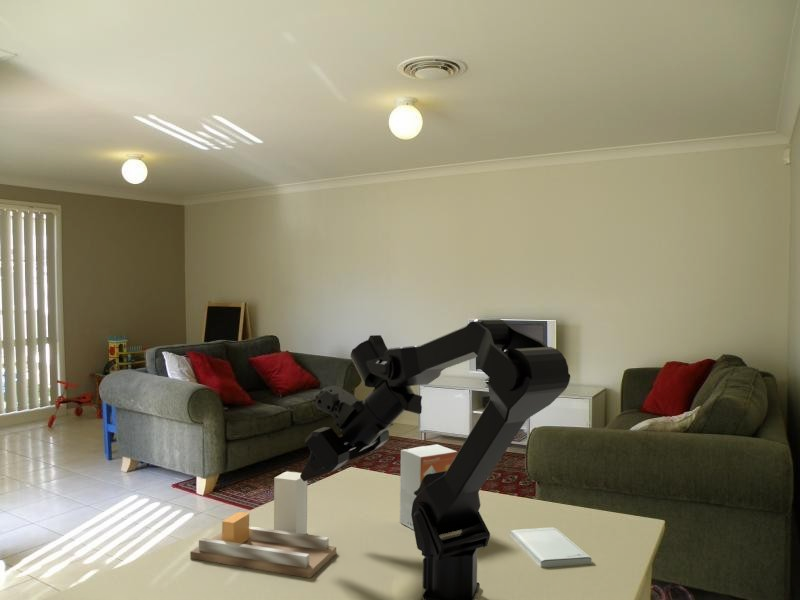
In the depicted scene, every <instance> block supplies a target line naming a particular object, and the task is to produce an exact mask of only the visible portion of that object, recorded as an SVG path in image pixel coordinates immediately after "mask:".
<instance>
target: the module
mask: <svg viewBox="0 0 800 600" xmlns="http://www.w3.org/2000/svg"><path fill="white" fill-rule="evenodd" d="M301 473H302V472H296V471H285V472H282V473H281V474H279V475H277V476H275V477H274V478H273V480H274V485H273V490H274V492H273V494H274V495H273V499H274V500H273V501H274V502H273V530H280V531H287V532H294V533H301V534H308V480H307V481H303V480H302V479H301V477H300V475H301Z"/></svg>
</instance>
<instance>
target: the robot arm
mask: <svg viewBox="0 0 800 600" xmlns="http://www.w3.org/2000/svg"><path fill="white" fill-rule="evenodd" d="M476 358H477V360H478V364H479V367H480V370H481V371H482V372H483V373H484V374H485V375H486V376H487V377H488V381H487V386H488V387H487V388H488V393H489V401H488V403H487V404H486V406H485V408H484V410H482V412H481V414H480V416H479V417H478V419H477V421H476V422H475V424H474V426H473V427H472V429H471V431H470V432H469V434H468V436H467V437H466V439H465V440H464V442H463V444H462V445H461V447H460V449H459V451H457V455H456V457H455V458H454V460H453V462H452V463H451V465H450V467H449V468H448V470H447V471H442V472H437V473H432V474H427V475H426V476H425V477H424V478H423V480H422V482H421V485H420V487H419V488H418V490H417V491H415V492H414V495H416V497H415V499H414V502H413V505H412V513H411V516H412V521H413V527H414V530H413V531H414V532H413V533H414V538H415V542H416V543H415V544H416V548H417V550H419V551H420V552H421V556H422V557H423V559H422V589H423V590H425V591H424V592H423V594H422V600H475V599H476V597H477V595H478V592H479V590H480V585H481V583H480V582H478V549H479V548H486V547H488V543H489V541H490V538H491V533H490V530H489V528H488V526H487V525H486V523H485V520H484V519H483V517H482V515H481V513H480V508H481V499H480V491H481V488H482V487H484V484H485V482H486V481H487V480H488V479H489V477H490V475H491V474H492V472H493V470H494V469H495V468H496V466H497V465H498V464H499V462H500V461H501V459H502V458H503V456H504V455H505V453H506V452H507V450H508V448H509V447H510V445H511V444H512V442H513V441H514V439H515V437H516V436H517V435H518V433H519V432H520V431H521V429H522V427H523V426H524V424H525V423H526V421H528V420H529V418H531V417H533V416H534V415H536V414H538V413H539V412H541V411H543V410H544V409H545V408H547V407H549V406H550V405H551V404H552V403H553V402H554V401H556V400H557V398H559V396H560V395H562V394H563V392H564V391H566V389H567V387H568V386H569V384H570V381H571V374H570V373H569V365H568V363H567V360H566V358H565V356H564V355H563V353H562V352H561V351H560V350H558V349H557V348H554V347H552V346H548V345H546V344H545V343H544V342H543V341H541V340H539V339H537V338H535V337H534V336H531V335H528V334H526V333H524V332H523V331H520V330H517V329H516V328H514V327H513V326H512V325H511V324H510V323H509V322H506V321H504V320H502V319H501V318H494V319H493V318H489V319H488V318H485V319H484V318H483V319H478V318H477V319H475V320H472V321H470V322H469V323H468V324H467V325H465V326H462V327H460V328H458V329H456V330H453V331H451V332H449V333H446V334H444V335H441V336H439V337H436V338H434V339H432V340H430V341H428V342H425V343H423V344H419V345H410V346H409V345H408V346H399V347H391V348H388V347H387V345H386V344H385V341H384V339H383V337H382V335H381V334H378V335H377V334H375V335H373V334H372V335H369V336H368V339H366V340H363V342H361V343H359V344H357V346H355V347H354V348H352V350H351V353H350V359H351V361H352V363H353V365H354V366H355V369H356V371H357V373H358V375H359V376H360V378H361V381H362V383H363V384H364V386H365V387H368V388H373V389H372V390H371V391H370V393H369V394H368V395H366V396H365V398H364V399H362V400H360V399H359V398H357V397H356V396H355V395H353V394H352V393H350V392H348V391H347V390H345V389H343V388H342V387H340V386H338V385H334V384H333V385H330V386H326V387H325V386H324V387H323V389H321V390H320V392H319V393H318V394H316V395H315V400H316V401H315V406H316V408H317V409H318V410H320V411H323V412H324V413H326V414H328V415H330V416H332V417H333V418H335V420H334V421H333V423H334V424H335V426H336V427H337V428H338V429H340V434H341V436H339V435H338V434H337V432H336V431H334V429H333V428H332V427H327V426H323V427H321V428H318V429H316V430H312V431H311V433H309V435H307V436H306V437H305V438H304V443H305V445H307V447H308V449H309V451H310V454H309V457H308V459H307V462H306V463H305V465H304V467H303V469H302V472H300V473H301V475H300V477H301V479H302V480H303V481H307V482H308V481H309V480H312V479H314V478H318V477H320V476H321V477H322V476H324V475H326V474H329V473H333V472H334V471H337V470H339V469H340V468H341V467H342V466H344V464H346V463H347V462H349V461H352V460H354V459H357V458H360V457H361V456H364V455H368V454H370V453H371V452H374V451H375V450H377V449H379V448H381V447H382V446H383V445H384V444H386V443H387V441H389V439H390V435H389V434H390V431H389V430H390V429H391V428H392V427H393V426H394V424H393V423H394V422H395V421H397V419H398V418H399V417H401V415H402V414H403V413H404V412H405V411H406V412H409V413H413V414H417V415H420V414H422V408H423V406H422V399H423V396H422V395H419V394H416V393H415V391H414V390H413V389H412V387H413V386H426V385H429V384H430V383H432V382H433V381H435V380H436V379H438V378H439V377H440V376H441V375H442V374H441V373H442V371H444V370H445V369H448V368H451V367H453V366H456V365H460V364H462V363H465V362H467V361H470V360H473V359H476ZM458 531H461V532H458ZM454 532H458V533H454ZM450 533H454V534H450ZM446 534H450V535H447V536H443V535H446ZM441 536H443V537H441Z"/></svg>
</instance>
